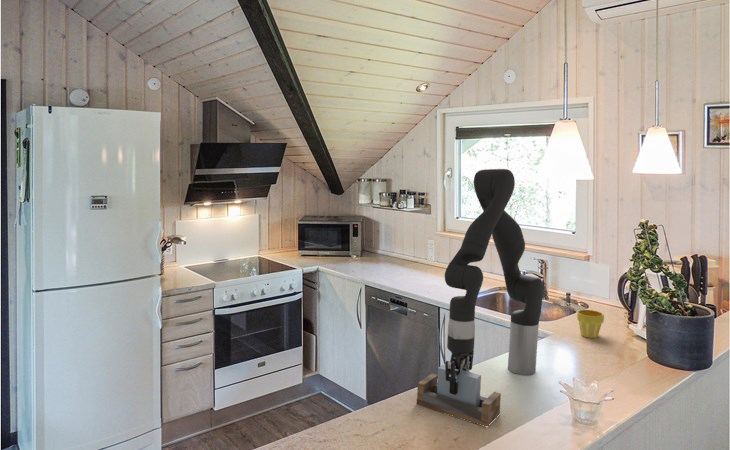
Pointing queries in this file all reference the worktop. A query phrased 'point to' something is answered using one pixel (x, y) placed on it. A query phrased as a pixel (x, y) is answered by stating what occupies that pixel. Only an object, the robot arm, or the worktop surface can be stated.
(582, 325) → the plant pot
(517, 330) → the robot arm
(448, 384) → the light blue flat block
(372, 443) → the worktop surface
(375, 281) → the worktop surface
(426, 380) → the door track
